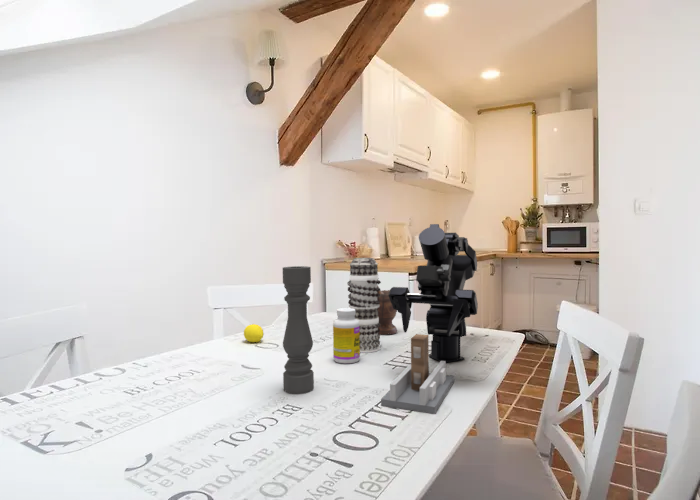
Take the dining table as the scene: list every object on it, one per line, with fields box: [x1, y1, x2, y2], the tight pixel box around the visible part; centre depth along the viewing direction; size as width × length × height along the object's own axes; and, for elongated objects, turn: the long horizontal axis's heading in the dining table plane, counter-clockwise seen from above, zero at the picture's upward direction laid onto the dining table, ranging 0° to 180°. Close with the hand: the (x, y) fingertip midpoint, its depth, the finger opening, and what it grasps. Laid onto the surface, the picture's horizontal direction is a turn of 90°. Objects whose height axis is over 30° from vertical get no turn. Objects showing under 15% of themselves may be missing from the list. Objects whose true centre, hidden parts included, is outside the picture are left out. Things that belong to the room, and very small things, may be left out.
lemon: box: [243, 323, 265, 344], centre depth 130 cm, size 7×5×5 cm
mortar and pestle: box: [377, 284, 398, 336], centre depth 139 cm, size 12×9×20 cm
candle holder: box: [282, 265, 315, 395], centre depth 90 cm, size 6×6×25 cm
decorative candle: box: [347, 257, 382, 354], centre depth 121 cm, size 9×9×25 cm
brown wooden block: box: [410, 333, 430, 390], centre depth 86 cm, size 5×2×10 cm, turn 157°
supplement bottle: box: [332, 307, 361, 364], centre depth 110 cm, size 7×7×13 cm
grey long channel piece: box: [380, 361, 455, 415], centre depth 87 cm, size 18×10×4 cm, turn 156°
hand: (426, 333), depth 91 cm, fingers open, 9 cm apart
